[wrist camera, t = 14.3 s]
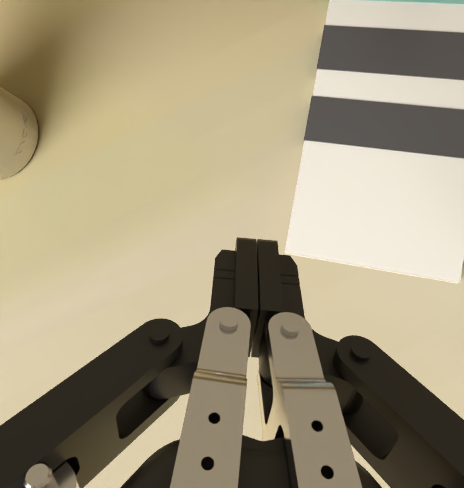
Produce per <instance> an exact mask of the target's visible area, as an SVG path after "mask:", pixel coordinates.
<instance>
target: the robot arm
mask: <svg viewBox="0 0 464 488" xmlns="http://www.w3.org/2000/svg"><path fill="white" fill-rule="evenodd" d="M37 140H38V124H37V120H36V117H35V115H34V113H33V111H32V109H31V108H30V107H29V106H28V105H27V104H26V103H25V102H24V101H22V100H21V99H19V98H17V97H16V96H14V95H13V94H11V93H9V92H8V91H6V90H5V89H3V88H1V87H0V179H4V178H7V177H11V176H12V175H14V174H16V173H18V172H19V171H20V170H21V169H22V168H23V167H25V165H26V164H27V163H28V162H29V160H30V159H31V157H32V155H33V153H34V151H35V148H36V145H37ZM299 285H300V283H299V278H298V269H297V265H296V263H295V262H294V261H293V259H292V258H291V256H288V255H279V253H278V243H277V241H272V240H261V239H257V242H256V239H249V238H238V237H237V240H236V248H235V251H231V250H221V251H220V253H219V254H218V255H217V257H216V258H215V267H214V277H213V287H212V297H211V307H210V312H209V314H208V315H207V317H206V318H205V319H204V320H203V321H201V322H200V323H198V324H195V325H192V326H187V327H182V328H180V327H179V325H177V324H176V323H175V322H173V321H171V320H168V319H153V320H150V321H148V322H146V323H144V324H143V325H141V326H140V327H139V328H137V329H136V330H134V331H133V332H132V333H130V334H129V335H127V336H126V337H125V338H123V339H122V340H120V341H119V342H118V343H116V344H115V345H113V346H112V347H110V348H109V349H108V350H106V351H105V352H103V353H102V354H101V355H99V356H98V357H96V358H95V359H94V360H92V361H91V362H89V363H88V364H87V365H85V366H84V367H82V368H81V369H79V370H78V371H77V372H75V373H74V374H72V375H71V376H70V377H68V378H67V379H65V380H64V381H63V382H61V383H60V384H58V385H57V386H56V387H54V388H53V389H51V390H50V391H48V392H47V393H46V394H44V395H43V396H41V397H40V398H39V399H37V400H36V401H34V402H33V403H32V404H30V405H29V406H27V407H26V408H25V409H23V410H22V411H20V412H19V413H18V414H16V415H15V416H13V417H12V418H10V419H9V420H8V421H6V422H5V423H3V424H2V425H1V426H0V488H83V487H84V486H85V485H87V484H88V483H89V482H90V481H91V480H92V479H93V478H94V477H95V476H96V475H97V474H98V473H99V472H101V471H102V470H103V469H104V468H105V467H106V466H107V465H108V464H109V463H110V462H111V461H112V460H113V459H114V458H116V457H117V456H118V455H119V454H120V453H121V452H122V451H123V450H124V449H125V448H126V447H127V446H128V445H130V444H131V443H132V442H133V441H134V440H135V439H136V438H137V437H138V436H139V435H140V434H141V433H142V432H144V431H145V430H146V429H147V428H148V427H149V426H150V425H151V424H152V423H153V422H154V421H155V420H156V419H158V418H159V417H160V416H161V415H162V414H163V413H164V412H165V411H166V410H167V409H168V408H169V407H170V406H172V405H173V404H174V403H175V402H176V401H177V400H178V398H179V397H180V395H184V394H188V393H190V395H189V399H188V404H187V409H186V414H185V418H184V423H183V428H182V433H181V437H180V439H179V440H176V441H173V442H171V443H169V444H167V445H165V446H164V447H162V448H160V449H159V450H157V451H156V452H155V453H154V454H153V455H151V456H150V457H149V458H148V459H147V460H146V461H145V462H144V463H143V464H142V465H141V466H140V467H139V468H138V470H137V471H136V472H135V473H134V474H133V475H132V476H131V477H130V478H129V479H128V480H127V481H126V482H125V483H124V484H123V485H122V487H121V488H382V487H381V486H380V485H379V484H378V482H377V481H376V480H375V479H374V478H373V477H372V476H371V474H370V473H369V472H368V471H367V470H366V469H365V468H364V467H362V466H361V465H360V464H359V463H358V462H356V461H355V459H354V455H353V452H352V448H351V445H352V446H353V447H354V448H355V449H356V450H357V451H358V452H359V454H360V455H361V456H362V457H363V458H364V459H365V460H366V461H367V462H368V463H369V464H370V466H371V467H372V468H373V469H374V470H375V471H376V472H377V473H378V474H379V475H380V476H381V478H382V479H383V480H384V481H385V482H386V483H387V484H388V485H389V486H390V487H391V488H464V420H463V419H462V418H461V417H460V416H459V415H457V414H456V413H455V412H454V411H453V410H451V409H450V408H449V407H448V406H447V405H446V404H444V403H443V402H442V401H441V400H440V399H439V398H437V397H436V396H435V395H434V394H433V393H432V392H430V391H429V390H428V389H427V388H426V387H425V386H423V385H422V384H421V383H420V382H419V381H418V380H416V379H415V378H414V377H413V376H412V375H411V374H409V373H408V372H407V371H406V370H405V369H403V368H402V367H401V366H400V365H399V364H398V363H396V362H395V361H394V360H393V359H392V358H391V357H389V356H388V355H387V354H386V353H385V352H384V351H382V350H381V349H380V348H379V347H378V346H377V345H375V344H374V343H373V342H372V341H370V340H368V339H366V338H364V337H361V336H353V335H352V336H346V337H344V338H342V339H341V340H340V341H339V342H338V341H335V340H332V339H329V338H326V337H324V336H321V335H320V334H318V333H316V332H315V331H314V330H313V329H311V326H310V324H309V323H308V322H307V320H305V316H304V310H303V303H302V297H301V290H300V286H299ZM250 352H251V357H258V358H259V370H258V375H257V383H258V392H259V402H260V411H261V421H262V441H259V440H255V439H252V438H250V437H247V436H244V435H242V433H243V421H244V410H245V398H246V387H247V379H246V372H247V361H248V357H250Z"/></svg>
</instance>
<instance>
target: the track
mask: <svg viewBox="0 0 464 488" xmlns="http://www.w3.org/2000/svg"><path fill="white" fill-rule="evenodd" d="M285 254H290V255H296V256H301V257H307V258H313V259H318V260H324V261H330V262H336V263H341V264H347V265H353V266H359V267H364V268H370V269H376V270H381V271H387V272H393V273H399V274H404V275H410V276H416V277H421V278H427V279H433V280H439V281H444V282H450V283H460V279H461V273H462V266H463V260H464V0H329V7H328V12H327V18H326V23H325V25H324V31H323V36H322V42H321V48H320V53H319V59H318V64H317V74H316V79H315V85H314V90H313V96H312V98H311V103H310V109H309V115H308V120H307V126H306V131H305V137H304V146H303V152H302V158H301V163H300V169H299V174H298V180H297V186H296V191H295V197H294V202H293V208H292V214H291V219H290V225H289V230H288V236H287V241H286V247H285Z"/></svg>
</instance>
